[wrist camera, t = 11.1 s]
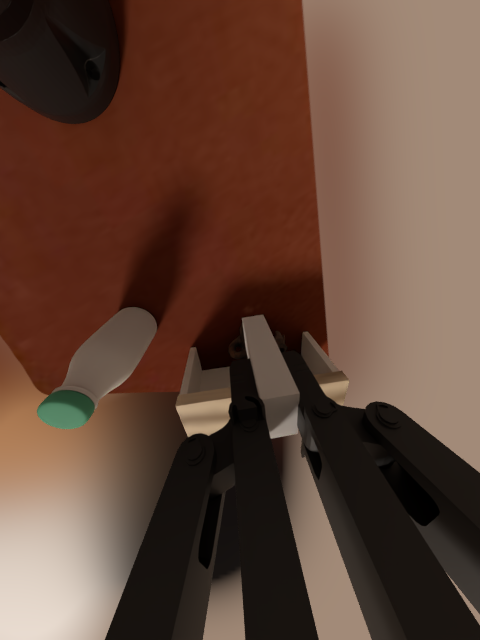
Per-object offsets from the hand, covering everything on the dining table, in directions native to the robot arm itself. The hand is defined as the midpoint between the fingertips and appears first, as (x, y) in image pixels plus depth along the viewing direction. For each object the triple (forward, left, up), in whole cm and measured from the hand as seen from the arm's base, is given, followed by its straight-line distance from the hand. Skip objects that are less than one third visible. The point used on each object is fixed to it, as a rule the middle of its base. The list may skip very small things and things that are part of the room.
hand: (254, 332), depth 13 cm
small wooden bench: (+20, +2, -23) cm, 30 cm away
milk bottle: (+9, -20, -23) cm, 32 cm away
